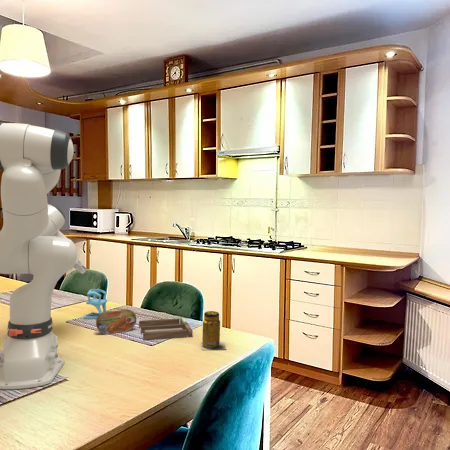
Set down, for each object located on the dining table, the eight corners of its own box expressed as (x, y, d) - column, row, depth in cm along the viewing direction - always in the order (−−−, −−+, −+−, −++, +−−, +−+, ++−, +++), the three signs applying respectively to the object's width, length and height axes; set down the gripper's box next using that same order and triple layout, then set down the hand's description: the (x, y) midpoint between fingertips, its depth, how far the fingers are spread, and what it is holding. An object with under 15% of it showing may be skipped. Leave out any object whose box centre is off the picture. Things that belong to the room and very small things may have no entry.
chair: (101, 320, 173) (102, 292, 173) (83, 319, 175) (83, 290, 174) (109, 315, 181) (110, 288, 180) (91, 314, 182) (92, 286, 182)
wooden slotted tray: (192, 337, 157) (192, 328, 156) (143, 340, 151) (143, 331, 151) (183, 324, 172) (183, 316, 172) (139, 326, 167) (139, 319, 166)
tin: (97, 335, 155) (97, 313, 154) (94, 333, 157) (95, 311, 157) (136, 330, 162) (136, 308, 162) (133, 328, 165) (134, 307, 165)
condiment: (200, 343, 151) (201, 310, 150) (224, 342, 151) (225, 310, 151) (201, 350, 143) (202, 315, 143) (226, 350, 144) (227, 315, 143)
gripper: (60, 242, 142) (90, 270, 146) (64, 236, 162) (91, 261, 165) (46, 255, 141) (76, 283, 145) (52, 247, 161) (79, 272, 164)
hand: (84, 271), depth 155 cm, fingers open, 3 cm apart
